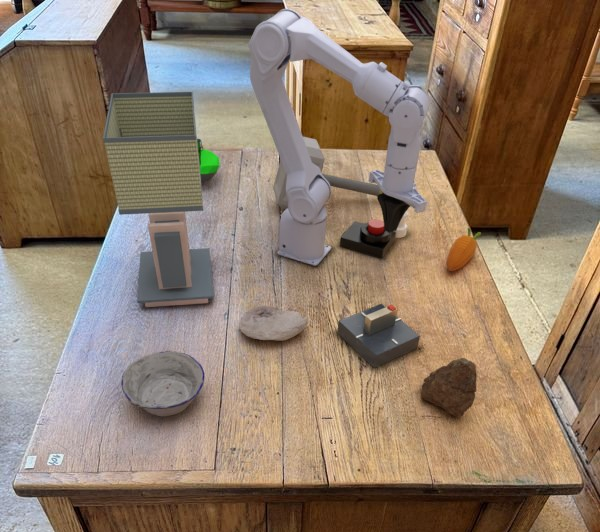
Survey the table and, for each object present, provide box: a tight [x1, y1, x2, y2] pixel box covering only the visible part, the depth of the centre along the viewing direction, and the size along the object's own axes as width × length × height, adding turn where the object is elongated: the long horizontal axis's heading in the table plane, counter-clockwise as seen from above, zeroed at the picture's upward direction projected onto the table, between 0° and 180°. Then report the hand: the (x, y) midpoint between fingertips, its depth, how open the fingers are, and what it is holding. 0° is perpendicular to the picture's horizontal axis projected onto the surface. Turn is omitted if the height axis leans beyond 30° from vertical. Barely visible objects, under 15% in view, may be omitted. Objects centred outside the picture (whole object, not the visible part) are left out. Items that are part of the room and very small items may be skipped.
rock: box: [420, 357, 478, 418], centre depth 91 cm, size 10×6×10 cm
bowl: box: [120, 350, 205, 417], centre depth 92 cm, size 13×13×5 cm
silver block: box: [363, 304, 399, 336], centre depth 101 cm, size 6×2×4 cm, turn 123°
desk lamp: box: [102, 91, 215, 308], centre depth 103 cm, size 18×14×33 cm
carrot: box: [446, 227, 482, 272], centre depth 122 cm, size 5×5×15 cm
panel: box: [337, 303, 421, 369], centre depth 104 cm, size 11×10×3 cm
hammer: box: [272, 136, 383, 210], centre depth 136 cm, size 15×8×30 cm
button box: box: [339, 220, 396, 259], centre depth 126 cm, size 10×8×4 cm
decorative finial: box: [393, 210, 409, 239], centre depth 122 cm, size 6×4×25 cm
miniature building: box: [197, 138, 221, 185], centre depth 142 cm, size 12×12×11 cm
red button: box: [368, 218, 384, 234], centre depth 124 cm, size 4×4×2 cm
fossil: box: [238, 305, 309, 342], centre depth 104 cm, size 12×4×10 cm
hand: (390, 230), depth 114 cm, fingers closed
